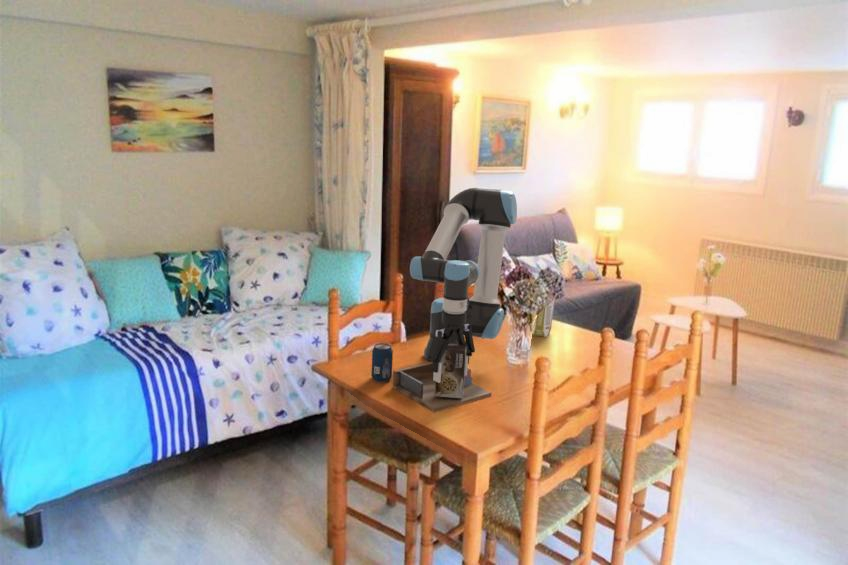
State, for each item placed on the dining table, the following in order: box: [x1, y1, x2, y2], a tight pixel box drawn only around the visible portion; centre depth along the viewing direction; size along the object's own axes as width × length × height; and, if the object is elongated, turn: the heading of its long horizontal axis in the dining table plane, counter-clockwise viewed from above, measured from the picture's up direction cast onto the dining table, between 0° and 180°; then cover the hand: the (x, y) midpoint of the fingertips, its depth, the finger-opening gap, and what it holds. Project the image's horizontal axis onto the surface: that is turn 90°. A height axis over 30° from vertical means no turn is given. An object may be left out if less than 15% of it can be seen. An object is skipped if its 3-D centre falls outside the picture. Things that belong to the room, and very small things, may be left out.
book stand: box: [392, 361, 492, 413], centre depth 208 cm, size 22×24×6 cm
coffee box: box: [435, 343, 467, 399], centre depth 201 cm, size 9×6×16 cm
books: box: [464, 367, 473, 386], centre depth 216 cm, size 12×5×5 cm, turn 38°
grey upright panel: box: [398, 371, 423, 398], centre depth 204 cm, size 12×1×5 cm, turn 38°
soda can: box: [371, 342, 394, 383], centre depth 215 cm, size 7×7×12 cm
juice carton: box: [532, 299, 555, 338], centre depth 272 cm, size 8×9×19 cm
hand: (450, 377), depth 201 cm, fingers closed on coffee box, 10 cm apart
